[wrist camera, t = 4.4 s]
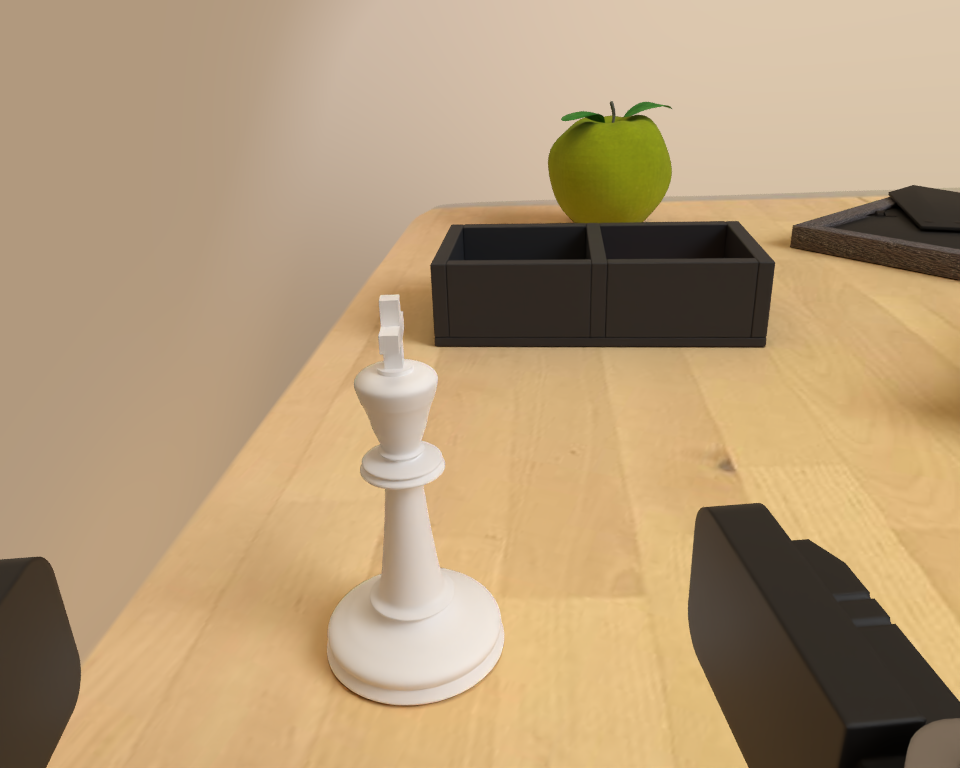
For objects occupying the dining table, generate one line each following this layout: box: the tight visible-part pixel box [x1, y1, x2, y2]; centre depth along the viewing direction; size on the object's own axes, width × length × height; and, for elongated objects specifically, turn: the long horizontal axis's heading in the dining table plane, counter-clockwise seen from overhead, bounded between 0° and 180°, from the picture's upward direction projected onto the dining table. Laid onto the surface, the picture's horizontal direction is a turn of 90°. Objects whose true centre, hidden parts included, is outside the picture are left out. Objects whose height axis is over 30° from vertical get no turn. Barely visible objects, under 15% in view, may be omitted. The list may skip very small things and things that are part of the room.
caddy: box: [430, 221, 775, 347], centre depth 46 cm, size 17×9×4 cm, turn 85°
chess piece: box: [327, 294, 504, 705], centre depth 21 cm, size 5×5×10 cm
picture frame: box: [790, 185, 960, 280], centre depth 59 cm, size 13×2×18 cm
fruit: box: [548, 101, 672, 223], centre depth 64 cm, size 9×9×10 cm
